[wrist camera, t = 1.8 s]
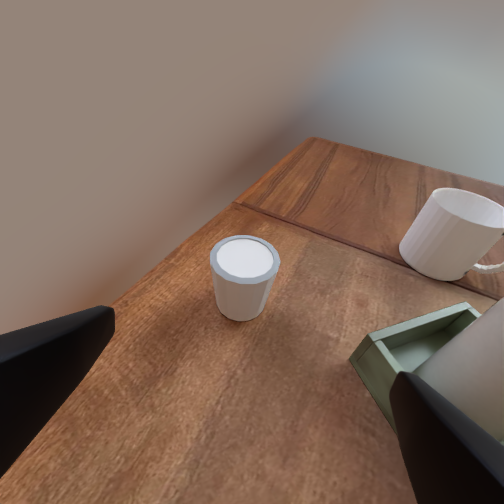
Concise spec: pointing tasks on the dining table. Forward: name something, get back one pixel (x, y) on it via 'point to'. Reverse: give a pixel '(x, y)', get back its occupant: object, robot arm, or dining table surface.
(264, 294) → the faceted white cup
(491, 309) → the white cylinder
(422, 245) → the mug
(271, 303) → the dining table surface
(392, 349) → the wooden box
